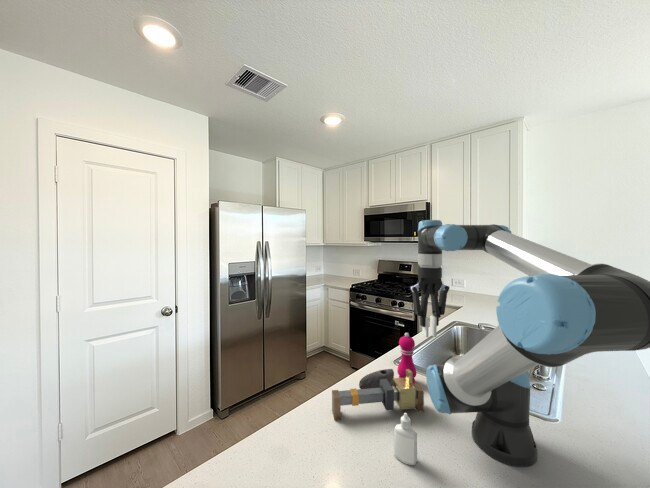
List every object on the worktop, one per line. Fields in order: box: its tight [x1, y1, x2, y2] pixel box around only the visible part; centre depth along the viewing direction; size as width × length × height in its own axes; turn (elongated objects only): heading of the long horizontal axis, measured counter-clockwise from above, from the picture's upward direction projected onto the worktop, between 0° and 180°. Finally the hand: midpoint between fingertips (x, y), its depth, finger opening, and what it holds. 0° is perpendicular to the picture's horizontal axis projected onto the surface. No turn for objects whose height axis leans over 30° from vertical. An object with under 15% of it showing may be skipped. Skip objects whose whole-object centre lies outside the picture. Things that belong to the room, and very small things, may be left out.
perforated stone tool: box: [358, 368, 395, 389], centre depth 100 cm, size 15×5×7 cm, turn 105°
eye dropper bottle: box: [393, 412, 418, 466], centre depth 69 cm, size 4×6×12 cm
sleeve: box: [392, 369, 415, 410], centre depth 89 cm, size 5×7×11 cm
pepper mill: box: [396, 332, 417, 384], centre depth 105 cm, size 7×7×20 cm
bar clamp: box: [331, 383, 425, 421], centre depth 88 cm, size 30×4×7 cm, turn 98°
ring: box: [380, 379, 395, 412], centre depth 88 cm, size 2×7×7 cm, turn 8°
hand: (429, 335), depth 89 cm, fingers open, 2 cm apart
